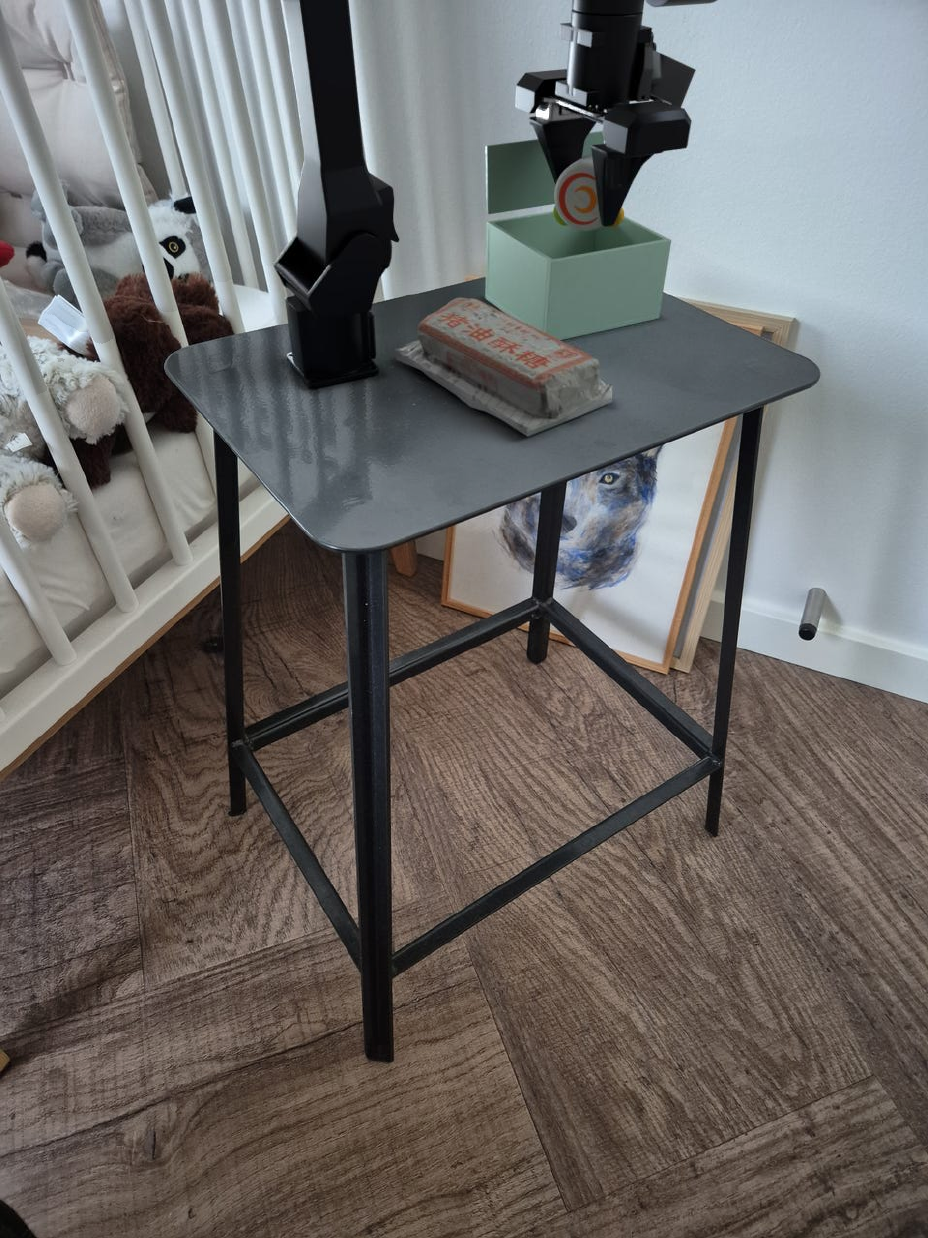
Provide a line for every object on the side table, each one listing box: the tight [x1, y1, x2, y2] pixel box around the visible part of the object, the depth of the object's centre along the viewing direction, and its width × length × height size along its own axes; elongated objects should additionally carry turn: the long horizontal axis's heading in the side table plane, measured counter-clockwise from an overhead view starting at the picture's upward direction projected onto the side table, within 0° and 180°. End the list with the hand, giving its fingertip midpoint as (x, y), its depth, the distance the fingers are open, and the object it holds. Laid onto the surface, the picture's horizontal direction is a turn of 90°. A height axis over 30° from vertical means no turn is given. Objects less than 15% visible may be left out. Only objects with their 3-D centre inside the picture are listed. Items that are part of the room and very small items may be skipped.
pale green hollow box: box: [484, 210, 672, 341], centre depth 86 cm, size 13×12×8 cm
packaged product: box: [393, 297, 613, 438], centre depth 75 cm, size 18×5×10 cm
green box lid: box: [485, 130, 605, 215], centre depth 85 cm, size 13×6×1 cm
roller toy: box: [552, 154, 625, 231], centre depth 80 cm, size 4×6×6 cm
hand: (587, 214), depth 81 cm, fingers closed on roller toy, 6 cm apart
